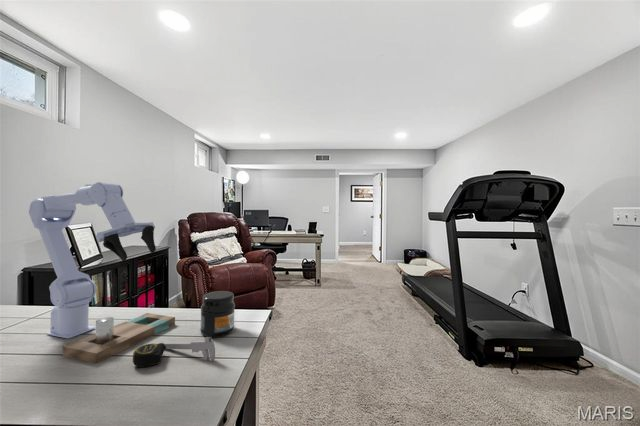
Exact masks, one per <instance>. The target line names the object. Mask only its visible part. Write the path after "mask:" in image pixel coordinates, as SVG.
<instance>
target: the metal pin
mask: <svg viewBox="0 0 640 426" xmlns="http://www.w3.org/2000/svg"><path fill="white" fill-rule="evenodd" d="M114 322H115V318H114V317H113V316H106V317H105V316H104V317H101V318H98V319H97V320H95V333H96V341H95V344H100V345H103V344H105V343H107V342H110V341H112V340H113V331H114V326H115V324H114Z"/></svg>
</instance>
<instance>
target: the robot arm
mask: <svg viewBox="0 0 640 426" xmlns="http://www.w3.org/2000/svg"><path fill="white" fill-rule="evenodd" d="M123 197H124V189H123V187H122V185H120V184H118V183H117V184H116V183H109V182H108V183H107V182H99V181H98V182H95V183H93V184H85V185H84V186H83V187H80V188H78V189H77V190H76V191H75V192H70V193H63V194H54V195H53V194H52V195H48V196H47V195H46V196H42V197H40V198H35V199H33V200H32V201H31V202H30V204H29V209H28V214H29V216H30V219H31V222H32V225H33V227H34V228H35V229H37V230H39V234H40V237H41V238H42V241H43V244H44V246H45V249H46V251H47V254H48V256H49V259H50V263H51V264H52V267H53V270H54V273H55V274H56V275H55V276H56V277H57V278H56V279H54V280H53V281H52V282H51V283H50V285H49V286H48V287H49V292H50V293H49V294H50V297H49V298H50V302H51V304H53V306H54V307H53V308H52V310H51V312H50V331H48V332H46V335H48V336H53V337H59V338H64V339H71V338H74V337H76V336H79V335H82V334H84V333H87V332H90V331H92V330H94V329H95V330H96V326H92V325H89V316H90V315H89V314H90V312H89V311H90V309H89V308H90V306H89V305H90V302H92V299H93V298H94V297H95V296H96V293H97V285H96V284H95V283H96V282H94V281H93V280H92V279H91V276H90V275H89V274H88V273H85V272H81V271H79V269H78V267H77V264H76V261H75V259H74V257H73V255H72V252H71V249H70V248H69V244H68V242H67V239H66V237H65V235H64V231H63V229H65V228H67V227H69V226H70V223H71V221H72V220H73V217H74V215H75V214H76V211H77V205H78V204H80V205H82V206H92V205H97V206H98V207H101V209H102V211H103V213H104V215H105V217H106V219H107V221H108V223H109V225H110V227H111V228H109V229H107V230H104V231H100V232H97V233H96V235H95V238H96V240H97V242H98V243H101V242H102V246H103V247H104V248H106V249H108V250H109V251H111V252H112V253H113V254H115V255H116V256H117V257H119V258H120V260H121V261H122V262H126V260H127V259H128V254H127V253H126V250H125V248H124V247H123V245H122V242H121V241H120V240H121V239H120V238H123V237H127V236H130V235H133V234H139V233H141V236H140V239H141V240H143V242H144V243H145V245H146V246H147V249H148V250H149V252H150V253H151V254H153V253H155V252H156V250H157V248H156V244H155V238H154V237H155V236H154V235H155V233H154V231H155V228H156V225H155V224H154V222H153V221H149V222H136V221H135V219H134V217H133V216H132V213H131V212H130V210H129V208H128V206H127V205H126V202H125V200H124V198H123Z"/></svg>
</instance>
